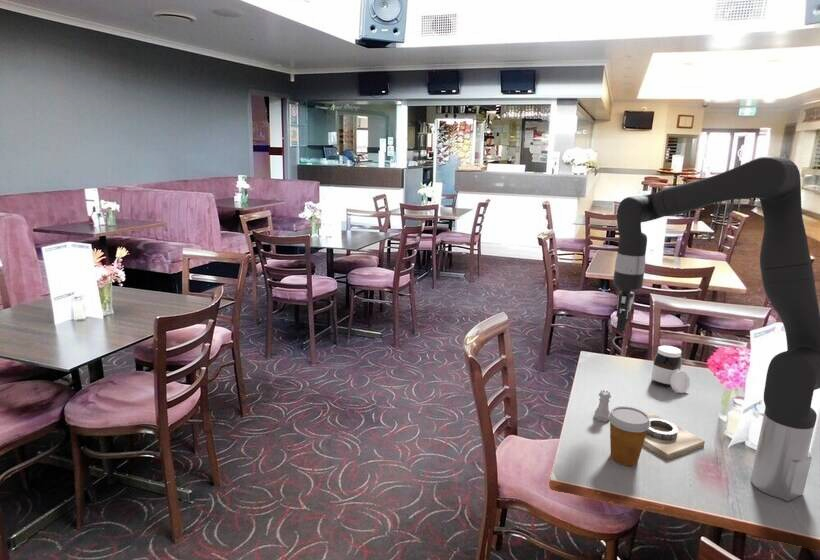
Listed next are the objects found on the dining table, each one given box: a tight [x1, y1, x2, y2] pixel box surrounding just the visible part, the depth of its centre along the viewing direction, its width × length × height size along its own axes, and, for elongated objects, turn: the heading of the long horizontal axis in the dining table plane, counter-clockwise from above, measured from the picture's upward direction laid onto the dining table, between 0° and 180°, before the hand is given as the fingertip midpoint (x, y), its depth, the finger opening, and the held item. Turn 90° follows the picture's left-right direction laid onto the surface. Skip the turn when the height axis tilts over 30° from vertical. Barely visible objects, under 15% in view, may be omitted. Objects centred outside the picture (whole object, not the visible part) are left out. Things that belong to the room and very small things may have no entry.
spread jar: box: [651, 345, 691, 394], centre depth 172 cm, size 12×11×12 cm
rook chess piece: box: [593, 389, 612, 422], centre depth 151 cm, size 4×4×8 cm
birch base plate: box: [643, 412, 706, 461], centre depth 142 cm, size 16×14×2 cm
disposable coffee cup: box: [609, 405, 651, 467], centre depth 131 cm, size 10×10×12 cm
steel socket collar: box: [646, 418, 678, 441], centre depth 142 cm, size 8×8×2 cm
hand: (622, 326), depth 151 cm, fingers open, 8 cm apart
